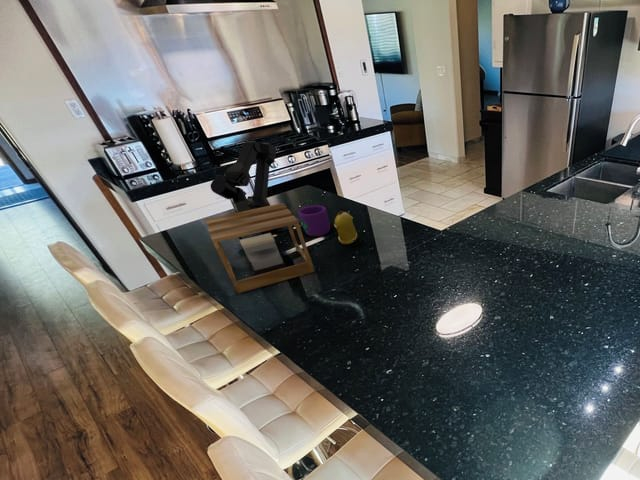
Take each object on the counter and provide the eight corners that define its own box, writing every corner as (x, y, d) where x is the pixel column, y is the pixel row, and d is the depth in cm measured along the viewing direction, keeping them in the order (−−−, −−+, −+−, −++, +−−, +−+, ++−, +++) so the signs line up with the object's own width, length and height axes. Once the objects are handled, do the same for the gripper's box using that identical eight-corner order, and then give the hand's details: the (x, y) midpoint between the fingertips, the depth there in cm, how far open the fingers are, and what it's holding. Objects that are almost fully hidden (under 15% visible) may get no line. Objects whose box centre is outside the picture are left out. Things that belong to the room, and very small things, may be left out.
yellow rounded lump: (360, 247, 163) (351, 210, 153) (340, 250, 161) (330, 213, 151) (357, 236, 171) (349, 200, 161) (338, 239, 169) (328, 203, 159)
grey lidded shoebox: (277, 252, 161) (270, 232, 156) (287, 267, 151) (279, 247, 145) (248, 259, 157) (239, 240, 151) (255, 276, 146) (246, 255, 141)
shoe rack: (228, 268, 152) (204, 218, 139) (299, 250, 162) (282, 202, 150) (237, 293, 137) (212, 240, 125) (314, 271, 148) (297, 220, 135)
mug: (336, 232, 175) (330, 209, 168) (312, 240, 169) (305, 217, 162) (318, 221, 184) (311, 199, 178) (294, 229, 178) (287, 206, 172)
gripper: (207, 196, 143) (225, 236, 144) (262, 186, 151) (279, 224, 151) (215, 212, 154) (231, 249, 154) (266, 201, 161) (282, 237, 161)
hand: (256, 239), depth 155 cm, fingers open, 9 cm apart
